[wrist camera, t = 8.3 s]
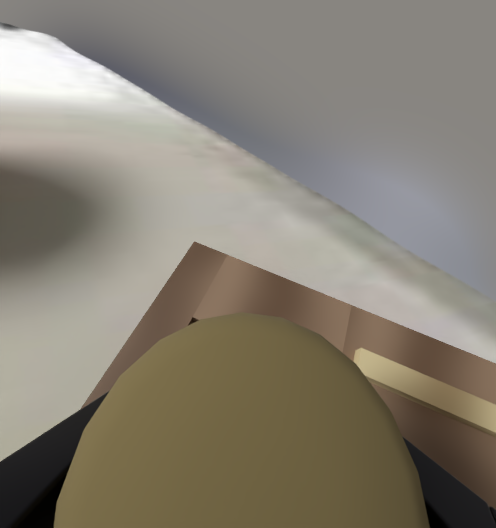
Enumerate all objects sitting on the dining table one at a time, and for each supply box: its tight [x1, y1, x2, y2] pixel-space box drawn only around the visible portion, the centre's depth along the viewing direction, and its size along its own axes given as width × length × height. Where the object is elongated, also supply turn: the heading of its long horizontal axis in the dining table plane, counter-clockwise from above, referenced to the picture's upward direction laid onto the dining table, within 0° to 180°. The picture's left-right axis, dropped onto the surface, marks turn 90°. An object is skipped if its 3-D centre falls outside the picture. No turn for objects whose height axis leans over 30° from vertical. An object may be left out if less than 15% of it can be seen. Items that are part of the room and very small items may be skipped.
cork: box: [54, 312, 430, 528], centre depth 7 cm, size 6×6×11 cm
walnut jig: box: [81, 242, 496, 509], centre depth 12 cm, size 20×14×5 cm
